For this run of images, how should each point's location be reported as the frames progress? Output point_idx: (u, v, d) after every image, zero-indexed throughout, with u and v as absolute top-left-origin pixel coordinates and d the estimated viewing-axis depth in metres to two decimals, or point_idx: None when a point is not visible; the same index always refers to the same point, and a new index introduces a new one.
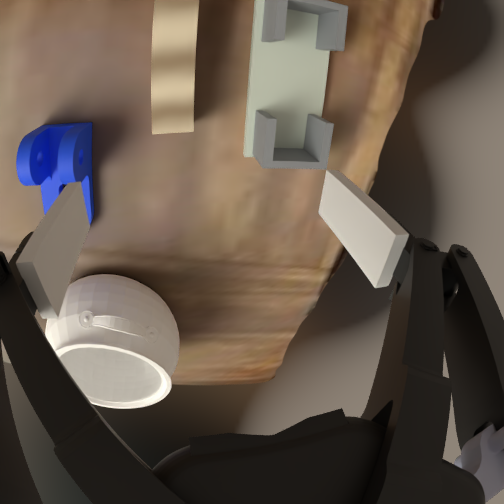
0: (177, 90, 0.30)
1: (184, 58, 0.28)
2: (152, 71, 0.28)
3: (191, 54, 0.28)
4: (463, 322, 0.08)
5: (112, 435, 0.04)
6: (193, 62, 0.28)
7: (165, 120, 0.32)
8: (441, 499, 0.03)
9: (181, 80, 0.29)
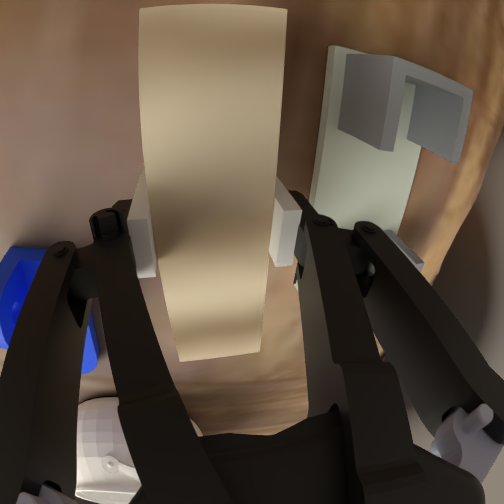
0: (227, 296, 0.15)
1: (244, 225, 0.13)
2: (160, 259, 0.13)
3: (262, 214, 0.12)
4: (392, 307, 0.09)
5: (185, 412, 0.04)
6: (266, 233, 0.13)
7: (204, 343, 0.16)
8: (441, 499, 0.03)
9: (236, 275, 0.14)
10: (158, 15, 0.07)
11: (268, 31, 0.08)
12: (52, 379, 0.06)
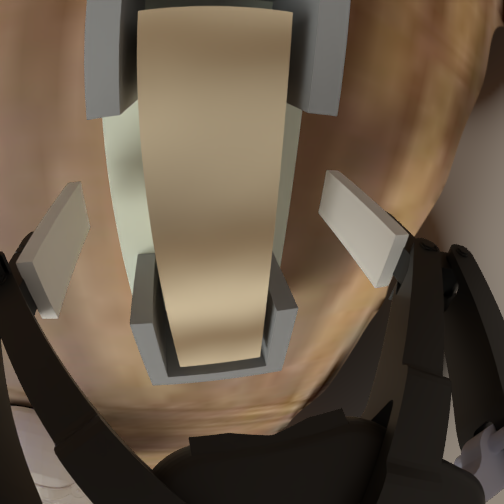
0: (228, 304, 0.14)
1: (246, 234, 0.12)
2: (160, 268, 0.12)
3: (264, 224, 0.12)
4: (463, 322, 0.08)
5: (112, 435, 0.04)
6: (268, 243, 0.13)
7: (204, 349, 0.16)
8: (441, 499, 0.03)
9: (237, 284, 0.14)
10: (157, 18, 0.07)
11: (273, 35, 0.08)
12: None
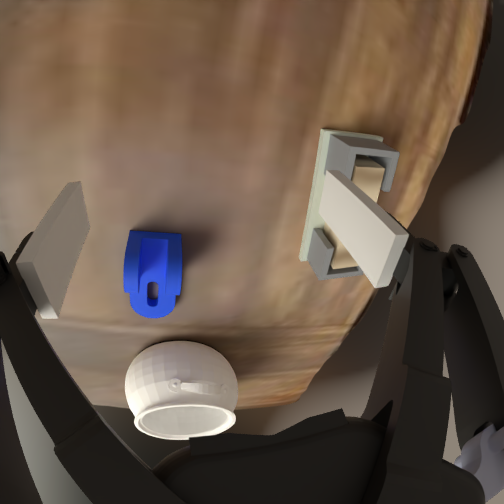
0: None
1: None
2: None
3: None
4: (463, 322, 0.08)
5: (112, 435, 0.04)
6: None
7: (343, 260, 0.48)
8: (441, 499, 0.03)
9: None
10: (360, 169, 0.38)
11: (380, 174, 0.39)
12: None
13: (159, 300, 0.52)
